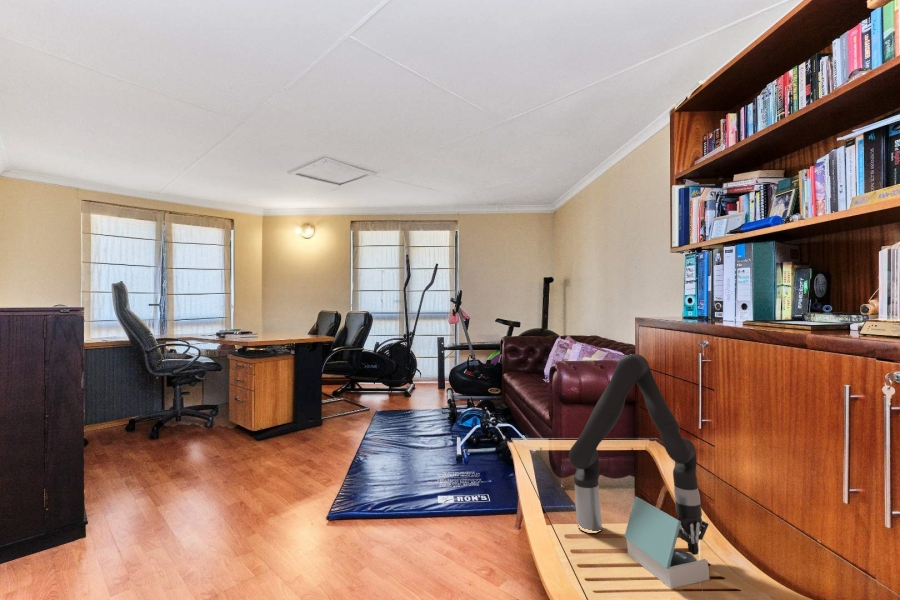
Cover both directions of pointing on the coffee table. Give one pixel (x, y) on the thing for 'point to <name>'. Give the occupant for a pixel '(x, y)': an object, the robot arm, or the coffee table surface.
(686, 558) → the electronic device
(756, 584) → the coffee table surface
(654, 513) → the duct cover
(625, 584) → the coffee table surface
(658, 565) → the open box
